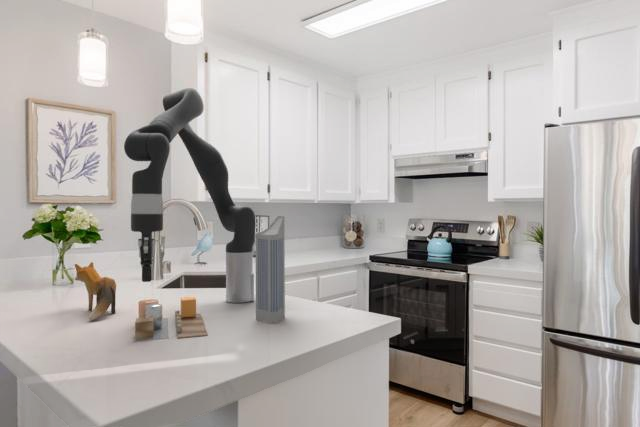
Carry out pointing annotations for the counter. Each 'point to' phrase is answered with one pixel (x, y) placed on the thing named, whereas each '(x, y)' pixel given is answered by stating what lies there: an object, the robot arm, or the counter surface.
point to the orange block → (188, 307)
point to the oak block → (144, 328)
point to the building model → (270, 273)
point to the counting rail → (189, 326)
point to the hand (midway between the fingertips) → (146, 281)
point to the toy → (97, 290)
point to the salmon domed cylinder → (143, 306)
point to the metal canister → (155, 314)
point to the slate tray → (157, 332)
